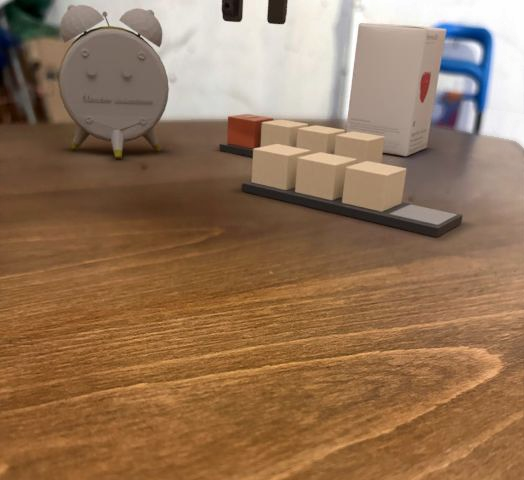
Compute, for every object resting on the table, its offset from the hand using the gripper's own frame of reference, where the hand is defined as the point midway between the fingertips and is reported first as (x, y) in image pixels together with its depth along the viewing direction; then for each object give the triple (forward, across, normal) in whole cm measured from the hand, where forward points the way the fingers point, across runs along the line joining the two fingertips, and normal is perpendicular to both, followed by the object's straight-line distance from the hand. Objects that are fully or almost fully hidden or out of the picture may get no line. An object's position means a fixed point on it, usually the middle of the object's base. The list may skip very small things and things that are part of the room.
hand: (255, 22), depth 75 cm
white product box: (+14, +18, -10) cm, 25 cm away
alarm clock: (+15, -13, +9) cm, 22 cm away
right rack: (+14, -14, -21) cm, 29 cm away
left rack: (+14, 0, -7) cm, 16 cm away
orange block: (+14, +1, 0) cm, 14 cm away
